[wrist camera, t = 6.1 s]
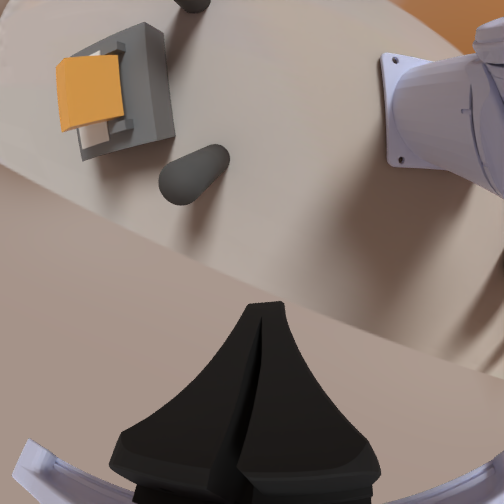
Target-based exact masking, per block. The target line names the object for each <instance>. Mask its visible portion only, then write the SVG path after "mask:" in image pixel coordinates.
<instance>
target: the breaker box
mask: <svg viewBox="0 0 504 504" xmlns="http://www.w3.org/2000/svg"><path fill="white" fill-rule="evenodd" d="M96 55H118V64H119V76H120V86H121V95H122V103H123V111H124V116H121V117H119V118H116V119H114V120H110V121H105V122H101V123H96V124H92V125H88V126H84V127H80V128H77V135H78V141H79V146H80V152H81V157H82V161H85V160H88V159H91V158H94V157H97V156H101V155H104V154H107V153H111V152H114V151H118V150H122V149H125V148H129V147H133V146H137V145H141V144H145V143H149V142H154V141H158V140H162V139H166V138H170V137H174V136H176V135H175V129H174V122H173V115H172V108H171V100H170V92H169V84H168V75H167V66H166V56H165V45H164V33H163V32H161V31H159V30H158V29H156V28H154V27H153V26H151V25H149V24H147V23H146V22H143V23H140V24H137V25H135V26H132V27H130V28H127V29H125V30H123V31H120V32H118V33H116V34H113V35H111V36H109V37H107V38H105V39H103V40H101V41H99V42H97V43H95V44H93V45H91V46H89V47H87V48H85V49H83V50H81V51H79V52H78V53H76V54H74V55H72V56H71V57H80V56H96Z"/></svg>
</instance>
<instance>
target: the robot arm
mask: <svg viewBox="0 0 504 504" xmlns="http://www.w3.org/2000/svg"><path fill="white" fill-rule="evenodd" d="M475 39H476V40H475V41H474V42H473V48H474V50H475V52H476V53H475V54H469V55H463V56H458V57H453V58H448V59H444V60H439V61H435V62H432V61H428V60H424V59H419V58H414V57H409V56H404V55H399V54H393V53H384V54H382V55H381V56H380V62H381V70H382V78H383V88H384V99H385V113H386V135H387V162H388V164H389V165H391V166H392V167H405V168H424V169H438V170H448V171H450V172H452V173H454V174H456V175H459V176H461V177H463V178H465V179H467V180H469V181H471V182H473V183H475V184H477V185H479V186H481V187H483V188H485V189H486V190H488V191H490V192H492V193H494V194H496V195H497V196H499V197H501V198H503V199H504V17H501V18H499V19H495V20H493V21H490V22H488V23H485V24H483V25H481V26H479V27H478V28H477V30H476V36H475ZM392 58H395V59H396V61H397V63H396V64H395V63H394V62H393V61H392ZM399 157H402V159H403V160H402V162H401V163H399V161H398V159H399ZM109 467H110V468H111V469H112V470H113V471H114V472H116V473H117V474H119V475H121V476H123V477H124V478H126V479H128V480H130V481H131V482H133V483H136V484H137V486H136V489H135V492H133V491H130V490H127V489H124V488H122V487H119V486H116V485H114V484H111V483H109V482H106V481H104V480H102V479H99V478H97V477H95V476H93V475H91V474H88V473H86V472H84V471H82V470H80V469H78V468H76V467H74V466H72V465H70V464H69V463H67V462H65V461H63V460H61V459H59V458H58V457H56V455H54V454H53V453H51V452H50V451H49V450H47V449H46V448H44V447H43V446H41V445H40V444H38V443H36V442H35V441H33V440H32V439H30V438H29V439H28V441H27V443H26V445H25V447H24V449H23V451H22V453H21V455H20V458H19V460H18V462H17V464H16V466H15V469H14V471H13V473H12V477H13V478H14V479H15V480H16V481H17V482H18V483H20V484H21V485H22V486H23V487H24V488H25V489H26V490H27V491H28V492H30V494H31V495H32V496H33V497H35V498H36V499H37V500H38V501H39V502H40V503H41V504H371V497H372V496H373V489H372V484H373V483H374V482H375V481H376V480H378V478H379V477H380V475H381V469H380V465H379V462H378V460H377V457H376V455H375V453H374V451H373V449H372V447H371V445H370V443H369V441H368V440H367V439H366V438H365V437H364V436H363V435H362V434H361V433H360V432H359V431H358V430H357V429H356V428H355V427H354V426H353V425H352V424H351V423H350V422H349V421H348V420H347V419H346V417H345V416H344V415H343V414H342V413H341V412H340V411H339V410H338V408H337V407H336V406H335V405H334V403H333V402H332V401H331V399H330V398H329V397H328V396H327V394H326V393H325V392H324V391H323V389H322V388H321V386H320V385H319V383H318V382H317V380H316V379H315V377H314V376H313V374H312V372H311V371H310V369H309V368H308V366H307V364H306V362H305V361H304V359H303V357H302V355H301V353H300V351H299V349H298V347H297V345H296V343H295V340H294V338H293V336H292V333H291V331H290V328H289V325H288V322H287V319H286V314H285V306H284V303H283V302H282V301H276V302H265V303H253V304H248V305H247V306H246V308H245V310H244V312H243V314H242V316H241V317H240V319H239V321H238V322H237V324H236V326H235V327H234V329H233V330H232V332H231V334H230V335H229V336H228V338H227V340H226V341H225V342H224V344H223V345H222V347H221V348H220V349H219V351H218V352H217V353H216V355H215V356H214V357H213V359H212V360H211V361H210V362H209V364H208V365H207V366H206V367H205V368H204V369H203V370H202V371H201V373H200V374H199V375H198V376H197V377H196V378H195V379H194V380H193V381H192V382H191V383H190V384H189V385H188V386H187V387H186V388H184V389H183V390H182V391H181V392H180V393H179V394H178V395H177V396H176V397H174V398H173V399H172V400H171V401H169V402H168V403H167V404H165V405H164V406H163V407H162V408H160V409H159V410H157V411H156V412H155V413H153V414H152V415H150V416H149V417H148V418H146V419H144V420H143V421H141V422H139V423H137V424H136V425H134V426H132V427H130V428H128V429H127V430H125V431H123V432H121V434H120V436H119V438H118V441H117V443H116V446H115V449H114V451H113V454H112V457H111V459H110V462H109ZM384 504H504V451H503V452H501V453H500V454H498V455H497V456H496V457H495V458H494V459H493V460H491V461H489V462H488V463H486V464H484V465H482V466H480V467H479V468H477V469H475V470H473V471H471V472H469V473H467V474H465V475H463V476H460V477H458V478H456V479H454V480H451V481H449V482H447V483H444V484H442V485H440V486H437V487H435V488H432V489H429V490H426V491H424V492H421V493H418V494H415V495H412V496H409V497H406V498H402V499H399V500H395V501H392V502H388V503H384Z"/></svg>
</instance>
